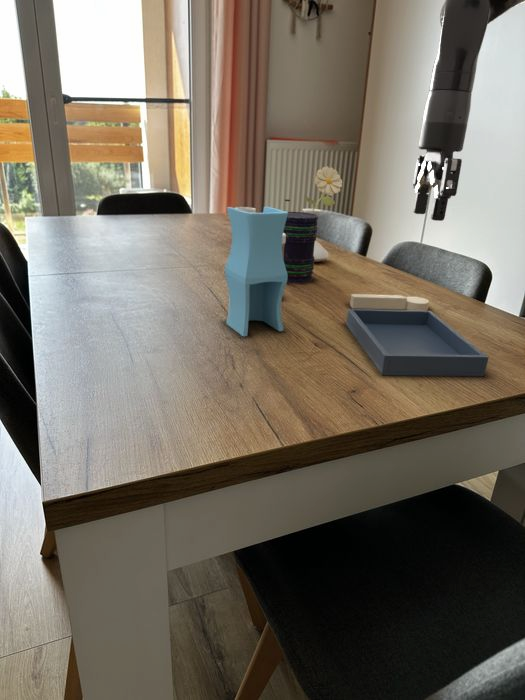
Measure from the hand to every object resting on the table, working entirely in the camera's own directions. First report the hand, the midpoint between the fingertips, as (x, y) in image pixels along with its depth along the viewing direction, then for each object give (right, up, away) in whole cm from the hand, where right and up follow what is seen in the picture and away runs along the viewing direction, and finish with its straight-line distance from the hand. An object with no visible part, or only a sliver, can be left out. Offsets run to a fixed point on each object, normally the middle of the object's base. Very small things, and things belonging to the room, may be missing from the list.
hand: (427, 216), depth 95 cm
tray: (-7, -24, -10) cm, 27 cm away
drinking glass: (-37, +11, +72) cm, 82 cm away
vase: (-32, -21, -4) cm, 39 cm away
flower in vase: (-17, 0, +48) cm, 51 cm away
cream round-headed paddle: (-5, -16, +10) cm, 20 cm away
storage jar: (-23, -7, +29) cm, 38 cm away
